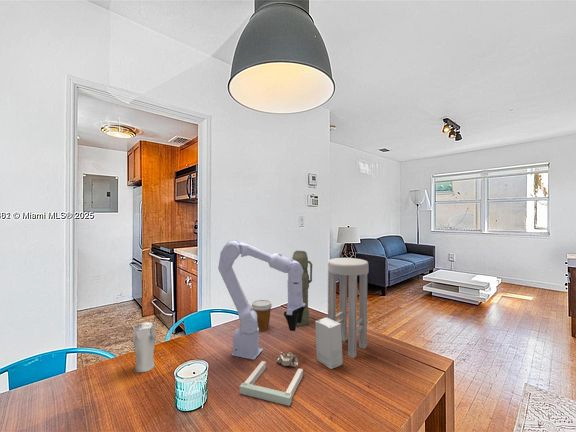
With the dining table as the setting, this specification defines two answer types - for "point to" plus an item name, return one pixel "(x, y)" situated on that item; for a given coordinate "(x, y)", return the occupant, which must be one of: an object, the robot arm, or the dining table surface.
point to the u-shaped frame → (267, 393)
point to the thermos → (304, 283)
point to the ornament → (288, 359)
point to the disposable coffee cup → (262, 313)
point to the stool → (349, 299)
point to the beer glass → (144, 346)
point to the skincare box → (329, 342)
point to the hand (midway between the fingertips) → (295, 326)
